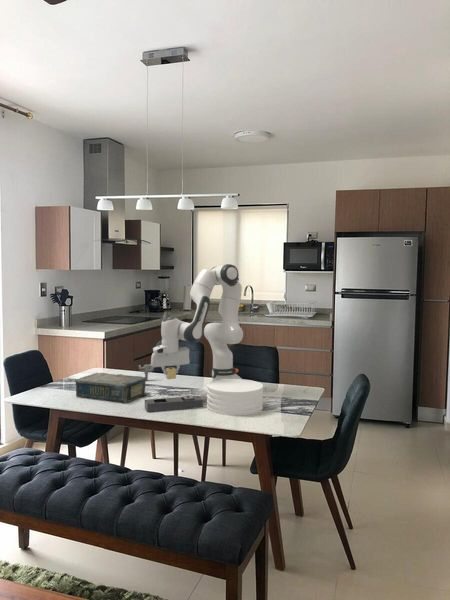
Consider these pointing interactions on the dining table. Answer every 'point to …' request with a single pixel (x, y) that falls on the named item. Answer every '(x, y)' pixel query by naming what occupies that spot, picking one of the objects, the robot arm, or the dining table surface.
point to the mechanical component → (146, 369)
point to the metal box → (110, 387)
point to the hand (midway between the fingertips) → (170, 373)
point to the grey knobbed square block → (187, 398)
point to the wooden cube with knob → (171, 373)
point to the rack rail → (172, 404)
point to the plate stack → (234, 397)
